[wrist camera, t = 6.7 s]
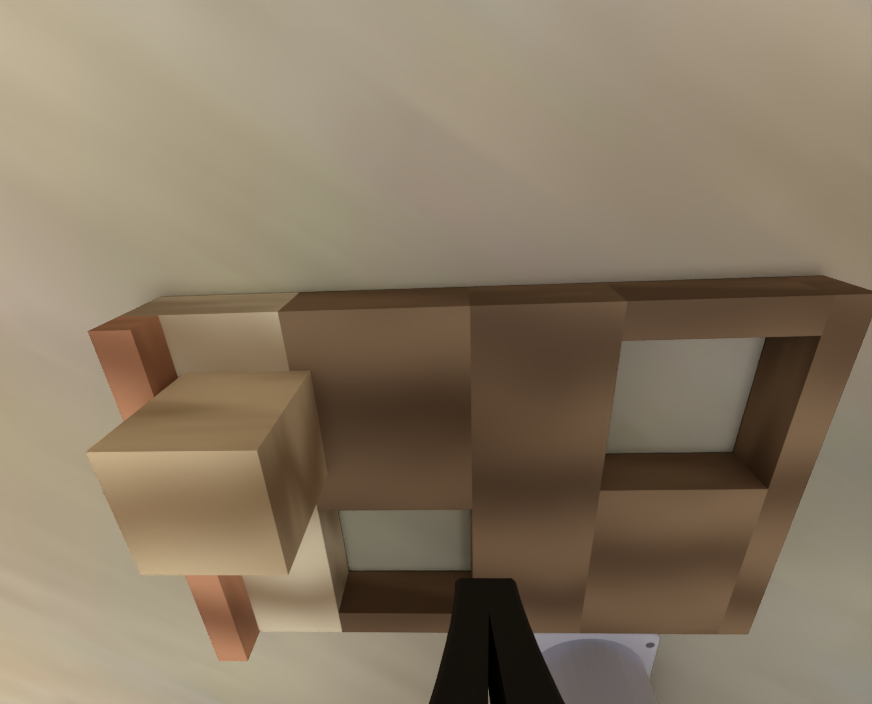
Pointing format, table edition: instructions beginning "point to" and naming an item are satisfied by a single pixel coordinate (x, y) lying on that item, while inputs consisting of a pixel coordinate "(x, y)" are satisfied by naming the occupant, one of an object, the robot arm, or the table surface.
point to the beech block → (216, 473)
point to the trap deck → (515, 444)
